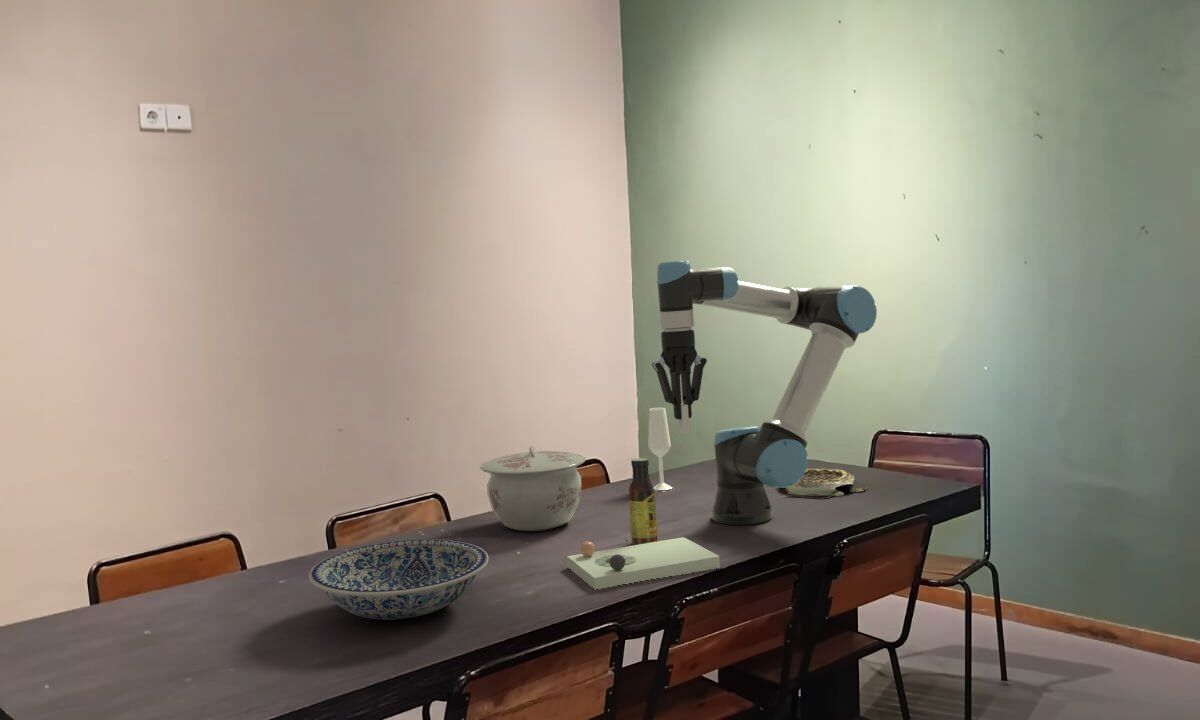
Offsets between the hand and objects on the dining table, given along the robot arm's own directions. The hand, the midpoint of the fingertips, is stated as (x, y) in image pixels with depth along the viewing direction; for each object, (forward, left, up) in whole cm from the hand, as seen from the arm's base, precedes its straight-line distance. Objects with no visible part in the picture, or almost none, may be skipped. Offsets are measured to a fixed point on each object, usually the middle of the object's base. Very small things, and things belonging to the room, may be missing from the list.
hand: (684, 432), depth 217 cm
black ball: (+24, +16, -22) cm, 37 cm away
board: (+16, +10, -26) cm, 32 cm away
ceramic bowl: (+67, +11, -27) cm, 73 cm away
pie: (-56, -35, -27) cm, 71 cm away
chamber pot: (+25, -40, -27) cm, 54 cm away
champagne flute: (-19, -60, -27) cm, 68 cm away
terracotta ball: (+26, +3, -22) cm, 34 cm away
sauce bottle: (+8, -8, -27) cm, 29 cm away
